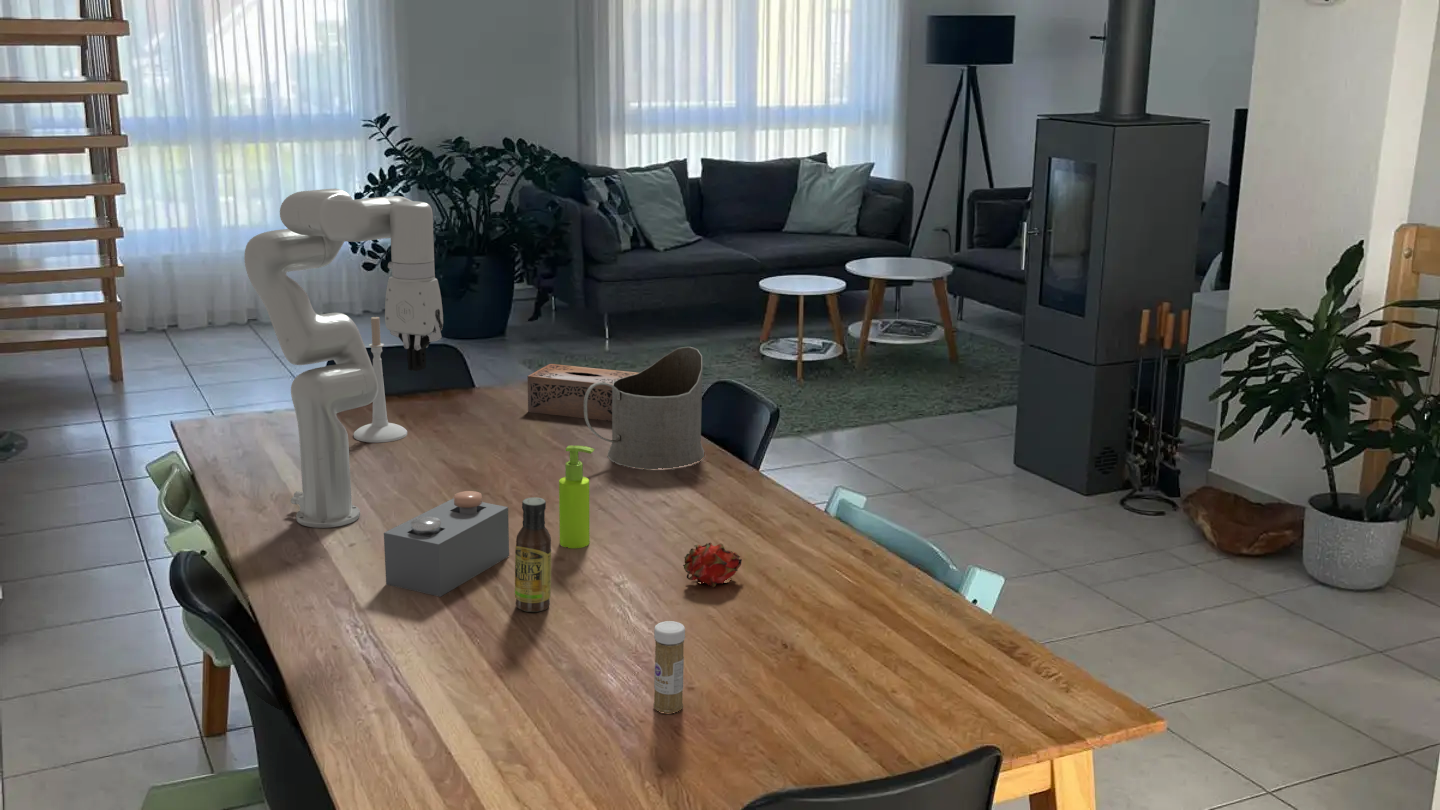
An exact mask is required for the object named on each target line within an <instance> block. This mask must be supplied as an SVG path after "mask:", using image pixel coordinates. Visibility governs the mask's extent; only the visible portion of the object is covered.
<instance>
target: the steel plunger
mask: <svg viewBox="0 0 1440 810" xmlns="http://www.w3.org/2000/svg"><path fill="white" fill-rule="evenodd" d="M411 529H412V532H413V533H415V534H417V535H420V536H425V537H431V536H433V535H435V533H437V532H439V531H440V530H441V521H440V519H438V518H435V517H420V518H416V519H414V520H412V522H411Z"/></svg>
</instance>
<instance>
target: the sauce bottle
mask: <svg viewBox="0 0 1440 810" xmlns="http://www.w3.org/2000/svg"><path fill="white" fill-rule="evenodd" d="M521 503H522V504H521V505H522V506H521V509H522V513H523V514H522V518H523V519H522V522H521V523H522V527H521V528H520V530H519V531H518V532H517V535H516V541H515V556H514V559H515V560H514V597H515V607H516V608H518V609H519V610H521V611H523V612H528V613H539V612H543V611H545V610H548V608H549V607H550V605H551V600H550V599H551V595H552V593H551V592H552V591H551V590H552V588H551V587H552V585H551V583H552V538H551V534H550V532H549V530H548V529H547V527H546V522H545V521H546V520H545V519H546V518H545V517H546V516H545V513H546V512H545V511H546V509H547V508H546V507H547V505H546V504H547V502H546V500H545V499H544V498H541V497H534V496H532V497H526V498H525V499H523V500H522V502H521Z"/></svg>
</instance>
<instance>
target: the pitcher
mask: <svg viewBox="0 0 1440 810" xmlns="http://www.w3.org/2000/svg"><path fill="white" fill-rule="evenodd" d="M597 385H608V386H610V387H612V421H611V423H612V424H611V433H612V435H611V438H612V439H608V438H605V437H603V436H601V435H600V434H599V433H598V432H597V431H595V430H594V428H593V427H592V425H591V424H590V421H589V419H588V415H587V400H588V396H589V393H590V391H591V390H592V389H593V388H594V387H595V386H597ZM702 392H703V355H702V354H701V352H700V351H699V349H698V348H695V347H691V346H684V347H678V348H676V349H675V350H672V351H670V352H669V353H668V354H665V355H664V356H663V357H661V358H660V359H659V360H657V361H656V362H654V363H653V364H652V365H650V366H648V367H647V368H645V369H644V370H641V371H640V372H638V374H635V375H631V376H627V377H624V378H621V379H618V380H616V381H615V382H613V385H611V384H608V383H604V382H598V383H594V384H592V385H591V386H590V387H589V388H588V390H587V392H586V394H585V397H584V417H585V418H584V422H585V424H586V425H587V427H588V429H589V430H590V431H591V432H592V433H593V435H595V436H596V437H597V438H600V439H602V440H604V441H606V442H609V443H611V445H610V447H609V449H608V452H607V457H608V459H609V461H611V462H612V463H614V462H615V464H617V465H619V466H621V465H624V466H623V467H625V466H628V467H627V468H629V467H635V468H644V469H658V468H662V469H663V468H673V467H679V466H684V465H688V464H692V463H694V462H697V461H700V460H701V459H702V458H703V457H704V452H705V450H704V447H703V444H702V439H701V438H702V398H703V397H702V396H703V395H702V394H703V393H702Z"/></svg>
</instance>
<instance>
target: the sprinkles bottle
mask: <svg viewBox="0 0 1440 810" xmlns="http://www.w3.org/2000/svg"><path fill="white" fill-rule="evenodd" d="M653 632H654V635H653V637H654V641H655V649H654V650H655V653H654V654H655V656H654V678H653V679H654V680H653V681H654V683H653V684H654V695H653V696H654V699H653V700H654V702H653V709H654V708H655V709H656V710H657V711H660V712H664V713H673V712H677V711H679V710H681V709H682V710H683V708H684V704H683V696H684V695H683V692H684V691H683V690H684V667H685V666H684V663H685V661H684V660H685V659H684V658H685V657H684V650H685V649H684V643H685V638H686V628H685V626H684V624H683V623H680V622H679V621H673V620H666V621H661V622H659V623H657V624H655V626H654V631H653ZM655 709H654V710H655ZM656 710H655V711H656ZM682 710H681V711H682ZM657 711H656V712H657ZM679 712H680V711H679ZM677 713H678V712H677Z"/></svg>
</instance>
